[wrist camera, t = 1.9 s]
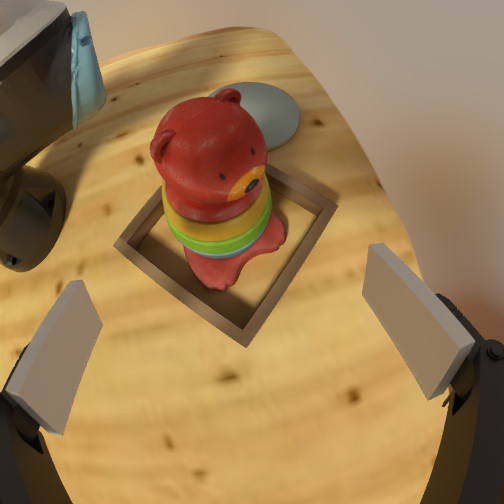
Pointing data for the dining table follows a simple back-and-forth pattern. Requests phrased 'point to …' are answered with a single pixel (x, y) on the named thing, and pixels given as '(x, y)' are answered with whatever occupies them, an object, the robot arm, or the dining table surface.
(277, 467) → the dining table surface
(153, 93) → the dining table surface
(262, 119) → the pad
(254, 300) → the dining table surface
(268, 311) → the collar
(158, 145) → the stacking bear
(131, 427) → the dining table surface
